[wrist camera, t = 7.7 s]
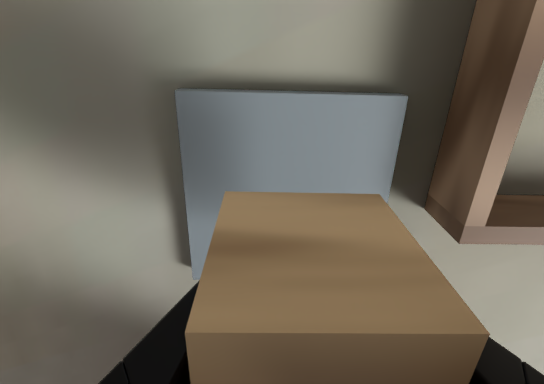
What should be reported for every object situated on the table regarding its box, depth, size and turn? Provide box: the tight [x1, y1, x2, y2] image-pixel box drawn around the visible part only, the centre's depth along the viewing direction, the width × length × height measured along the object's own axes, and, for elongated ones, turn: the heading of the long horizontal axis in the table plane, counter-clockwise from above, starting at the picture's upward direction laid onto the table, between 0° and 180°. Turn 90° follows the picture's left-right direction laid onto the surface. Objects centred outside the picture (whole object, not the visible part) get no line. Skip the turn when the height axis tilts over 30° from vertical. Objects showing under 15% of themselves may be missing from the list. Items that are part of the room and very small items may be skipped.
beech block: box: [185, 191, 490, 384], centre depth 8 cm, size 4×4×5 cm
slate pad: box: [175, 88, 408, 280], centre depth 14 cm, size 9×9×1 cm
